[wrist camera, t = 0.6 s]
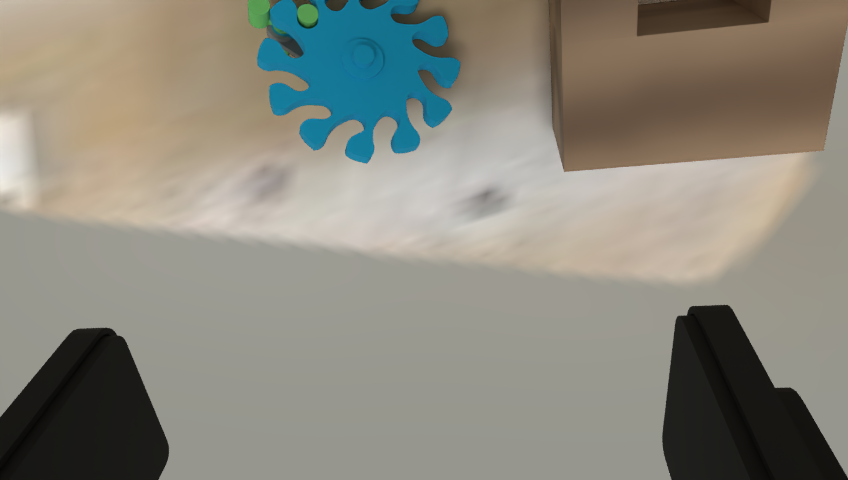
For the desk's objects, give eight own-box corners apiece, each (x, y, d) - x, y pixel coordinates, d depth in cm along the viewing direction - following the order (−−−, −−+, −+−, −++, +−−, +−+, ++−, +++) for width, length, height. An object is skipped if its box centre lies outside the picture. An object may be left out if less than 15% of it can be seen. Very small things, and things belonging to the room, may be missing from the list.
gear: (498, 35, 34) (400, 193, 31) (465, 84, 40) (380, 222, 37) (312, -89, 33) (193, 62, 30) (305, -20, 39) (205, 112, 36)
